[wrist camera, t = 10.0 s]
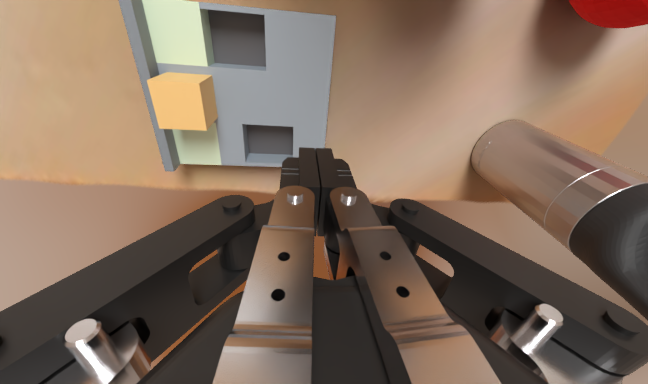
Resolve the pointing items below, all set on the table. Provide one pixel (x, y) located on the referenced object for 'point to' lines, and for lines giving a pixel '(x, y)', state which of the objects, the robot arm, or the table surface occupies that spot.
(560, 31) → the table surface
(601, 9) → the tomato
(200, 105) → the block
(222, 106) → the board
